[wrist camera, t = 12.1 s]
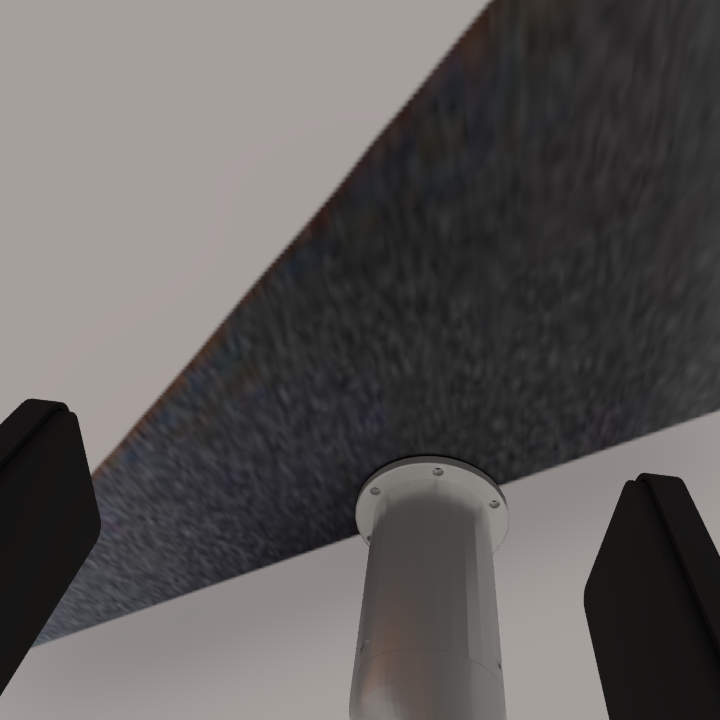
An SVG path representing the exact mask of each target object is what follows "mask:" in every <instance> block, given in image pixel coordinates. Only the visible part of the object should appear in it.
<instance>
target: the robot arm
mask: <svg viewBox="0 0 720 720" xmlns="http://www.w3.org/2000/svg"><path fill="white" fill-rule="evenodd" d="M355 518H356V523H357V528H358V530H359V532H360V534H361V536H362V538H363V539H364V541H365V542H366V543H367V545H368V546H369V547H370V548H369V555H368V563H367V571H366V578H365V586H364V593H363V601H362V609H361V617H360V624H359V632H358V639H357V647H356V655H355V662H354V670H353V678H352V686H351V694H350V703H349V716H350V720H506V708H505V696H504V683H503V672H502V660H501V648H500V636H499V625H498V614H497V601H496V589H495V578H494V566H493V553H494V552H495V551H497V550H498V549H499V547H500V546H501V544H502V543H503V541H504V540H505V537H506V534H507V531H508V527H509V514H508V506H507V503H506V500H505V497H504V495H503V493H502V492H501V490H500V488H499V487H498V485H497V484H496V483H495V482H494V481H493V480H492V479H491V478H490V477H489V476H487V475H486V474H485V473H483V472H482V471H480V470H479V469H477V468H475V467H473V466H471V465H469V464H467V463H464V462H461V461H458V460H454V459H451V458H444V457H437V456H419V457H412V458H406V459H402V460H399V461H396V462H393V463H391V464H389V465H387V466H385V467H383V468H381V469H379V470H378V471H377V472H376V473H374V474H373V475H372V476H371V477H370V478H369V479H368V480H367V481H366V483H365V484H364V485H363V487H362V489H361V491H360V493H359V495H358V500H357V505H356V516H355ZM100 530H101V520H100V515H99V511H98V506H97V502H96V498H95V493H94V489H93V484H92V480H91V475H90V471H89V467H88V462H87V458H86V454H85V449H84V445H83V440H82V436H81V431H80V427H79V423H78V419H77V416H76V414H75V413H73V412H70V411H69V409H68V407H67V405H66V404H64V403H62V402H56V401H48V400H39V399H27V400H26V401H24V402H23V403H22V404H21V405H20V406H19V407H18V408H17V409H16V410H15V411H14V412H12V414H10V416H9V417H7V418H6V419H5V420H4V421H3V423H2V424H0V696H1V694H2V692H3V691H4V689H5V687H6V686H7V684H8V683H9V681H10V680H11V678H12V676H13V675H14V673H15V672H16V670H17V668H18V667H19V665H20V664H21V662H22V660H23V659H24V657H25V655H26V654H27V652H28V651H29V649H30V648H31V646H32V644H33V643H34V641H35V640H36V638H37V636H38V635H39V633H40V632H41V630H42V628H43V627H44V625H45V624H46V622H47V620H48V619H49V617H50V616H51V614H52V612H53V611H54V609H55V608H56V606H57V604H58V603H59V601H60V600H61V598H62V596H63V595H64V593H65V592H66V590H67V588H68V587H69V585H70V584H71V582H72V580H73V579H74V577H75V576H76V574H77V572H78V571H79V569H80V568H81V566H82V564H83V563H84V561H85V560H86V558H87V556H88V555H89V553H90V551H91V550H92V548H93V547H94V545H95V543H96V542H97V540H98V537H99V534H100ZM584 608H585V613H586V618H587V622H588V626H589V631H590V635H591V639H592V644H593V648H594V653H595V658H596V662H597V667H598V671H599V675H600V680H601V684H602V689H603V693H604V698H605V702H606V707H607V711H608V715H609V720H720V556H719V554H718V552H717V550H716V547H715V545H714V543H713V541H712V539H711V537H710V535H709V533H708V531H707V529H706V527H705V525H704V523H703V521H702V518H701V516H700V514H699V512H698V510H697V508H696V506H695V504H694V502H693V500H692V498H691V496H690V494H689V492H688V489H687V488H686V485H685V483H684V482H683V480H682V479H680V478H679V477H673V476H666V475H657V474H649V473H641V474H640V475H639V476H638V477H637V479H636V481H633V480H629V481H627V482H626V483H625V485H624V487H623V490H622V492H621V495H620V498H619V500H618V503H617V505H616V508H615V511H614V513H613V516H612V518H611V521H610V524H609V526H608V529H607V531H606V534H605V537H604V539H603V542H602V545H601V548H600V550H599V552H598V555H597V557H596V560H595V563H594V565H593V568H592V570H591V573H590V576H589V578H588V581H587V584H586V586H585V590H584Z"/></svg>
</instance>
